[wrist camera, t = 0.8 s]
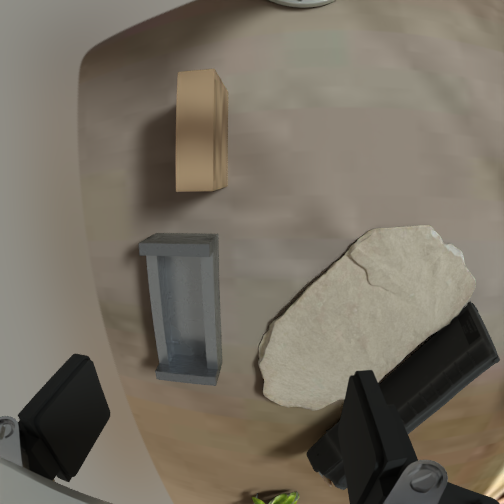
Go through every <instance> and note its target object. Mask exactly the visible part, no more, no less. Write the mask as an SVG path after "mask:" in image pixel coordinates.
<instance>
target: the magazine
mask: <svg viewBox="0 0 504 504" xmlns="http://www.w3.org/2000/svg"><path fill="white" fill-rule="evenodd" d="M467 304H468V305H467V306H466V307H465V308H464V309H463V310H462V311H461V312H460V313H459V315H458V316H456V317H454V318H453V319H452V320H451V322H450V324H448V325H447V326H445V327H443V328H442V329H441V330H440V331H439V332H438V333H437V334H436V335H434V336H433V337H432V338H431V339H430V340H429V341H428V342H426V343H425V344H424V345H423V346H422V347H421V348H420V349H419V350H417V351H416V352H415V353H414V354H413V355H412V356H411V357H409V358H408V359H407V360H406V361H405V362H404V363H403V364H402V365H400V366H399V367H398V368H397V369H396V370H395V371H394V372H393V373H391V374H390V375H389V376H388V377H387V378H386V379H385V380H384V381H382V382H381V383H380V384H379V386H380V389H381V391H382V394H383V396H384V399H385V401H386V404H394V405H395V406H396V408H397V410H398V412H399V415H400V417H401V420H402V422H403V424H404V427H405V429H406V432H407V434H409V433H410V432H411V431H412V430H414V429H415V428H416V427H417V426H419V425H420V424H421V423H422V422H423V421H425V420H426V419H427V418H429V417H430V416H431V415H432V414H434V413H435V412H436V411H437V410H439V409H440V408H441V407H442V406H443V405H445V404H446V403H447V402H448V401H449V400H450V399H452V398H453V397H454V396H455V395H456V394H457V393H458V392H460V391H461V390H462V389H463V388H464V387H466V386H467V385H468V384H469V383H470V382H472V381H473V380H474V379H475V378H477V377H478V376H479V375H480V374H482V373H483V372H484V371H486V370H487V369H488V368H490V367H491V366H492V365H494V364H495V363H498V362H499V361H500V359H499V356H498V355H497V351H496V349H495V346H494V344H493V342H492V340H491V337H490V335H489V333H488V331H487V329H486V327H485V325H484V323H483V321H482V318H481V316H480V315H479V313H478V310H477V308H476V307H475V305H474V304H473V303H471V302H468V303H467ZM339 423H340V421H339V422H338V423H337V424H336V425H335V426H333V427H332V428H331V429H330V430H327V431H326V432H327V433H326V434H325V435H324V436H323V437H321V438H320V439H319V440H318V441H317V442H316V443H315V444H314V445H313V446H312V447H311V448H310V449H309V450H308V452H307V457H308V459H309V461H310V463H311V465H312V467H313V469H314V471H315V472H319V474H320V475H321V476H322V478H323V479H324V481H325V482H326V483H327V484H328V485H329V486H332V484H331V481H332V482H333V484H334V485H335V486H336V487H337V488H340V489H343V490H345V489H346V488H347V482H346V476H345V470H344V465H343V459H342V454H341V448H340V443H339V437H338V427H339Z"/></svg>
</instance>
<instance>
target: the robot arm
mask: <svg viewBox="0 0 504 504" xmlns="http://www.w3.org/2000/svg"><path fill="white" fill-rule="evenodd" d="M269 1H272V2H275V3H277V4H280V5H285V6H290V7H301V8H304V7H316V6H322V5H325V4H328V3H331V2H333V1H335V0H269ZM18 417H19V419H20V421H19V422H17V421H16V419H14V418H13V417H9V416H2V417H0V504H112V503H109V502H106V501H103V500H100V499H97V498H94V497H91V496H88V495H85V494H83V493H80V492H78V491H75V490H72V489H70V488H68V487H65V486H63V485H61V484H58V483H56V482H55V480H54V478H55V476H57V477H58V478H60V479H62V480H65V481H67V482H69V481H70V480H71V478H72V477H74V476H76V474H77V473H78V471H79V469H80V467H81V466H82V464H83V462H84V461H85V459H86V457H87V455H88V454H89V452H90V450H91V448H92V447H93V445H94V443H95V442H96V440H97V438H98V437H99V435H100V433H101V432H102V430H103V428H104V426H105V425H106V423H107V421H108V420H109V417H110V410H109V407H108V404H107V402H106V399H105V396H104V393H103V390H102V388H101V385H100V382H99V379H98V376H97V373H96V370H95V367H94V364H93V362H92V361H91V360H90V358H89V357H88V356H85V355H80V354H73V355H72V356H71V357H70V358H69V359H68V361H66V363H65V364H64V365H63V366H62V367H61V368H60V369H59V370H58V371H57V372H56V373H55V374H54V375H53V376H52V377H51V379H50V380H49V381H48V382H47V383H46V384H45V385H44V386H43V387H42V389H40V391H39V392H38V393H37V394H36V395H35V396H34V397H33V398H32V399H31V401H30V402H29V403H28V404H27V405H26V406H25V407H24V408H23V410H22V411H21V412H20V413H19V414H18ZM338 437H339V443H340V448H341V454H342V459H343V465H344V470H345V476H346V482H347V488H348V494H349V500H350V504H499V502H498V501H497V500H495V499H493V498H491V497H488V496H485V495H482V494H479V493H476V492H473V491H470V490H468V489H465V488H462V487H459V486H457V485H454V484H452V483H449V482H447V480H448V477H447V472H446V471H445V469H444V468H443V467H442V466H441V465H440V464H439V463H437V462H435V461H431V460H419V461H418V459H417V456H416V454H415V451H414V449H413V446H412V444H411V441H410V439H409V436H408V434H407V432H406V429H405V427H404V424H403V422H402V420H401V417H400V415H399V412H398V410H397V408H396V406H395V405H394V404H386V401H385V399H384V396H383V394H382V391H381V389H380V386H379V384H378V382H377V379H376V377H375V375H374V372H373V371H372V370H362V371H356V372H355V374H354V375H351V376H350V377H349V381H348V386H347V391H346V396H345V400H344V405H343V410H342V414H341V418H340V423H339V427H338Z"/></svg>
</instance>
